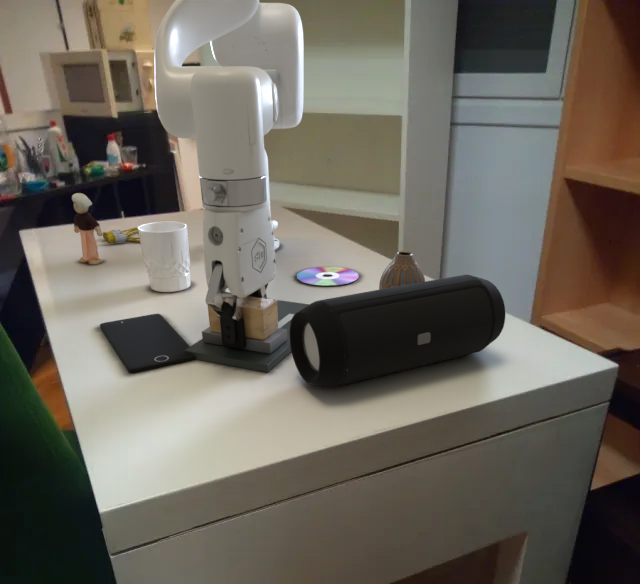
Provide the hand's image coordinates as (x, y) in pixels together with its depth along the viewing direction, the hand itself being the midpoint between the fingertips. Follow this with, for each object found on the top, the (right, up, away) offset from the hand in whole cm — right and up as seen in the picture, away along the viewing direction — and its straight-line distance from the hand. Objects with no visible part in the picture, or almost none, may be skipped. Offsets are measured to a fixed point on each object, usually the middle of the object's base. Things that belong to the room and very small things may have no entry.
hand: (245, 337), depth 78 cm
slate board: (+2, +1, +5) cm, 6 cm away
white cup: (-16, +12, +24) cm, 31 cm away
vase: (+22, +6, +13) cm, 26 cm away
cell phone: (-14, -1, +3) cm, 14 cm away
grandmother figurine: (-34, +20, +37) cm, 54 cm away
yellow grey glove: (-30, +30, +54) cm, 69 cm away
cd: (+11, +15, +28) cm, 34 cm away
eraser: (0, 0, 0) cm, 1 cm away
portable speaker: (+19, -4, -4) cm, 20 cm away
